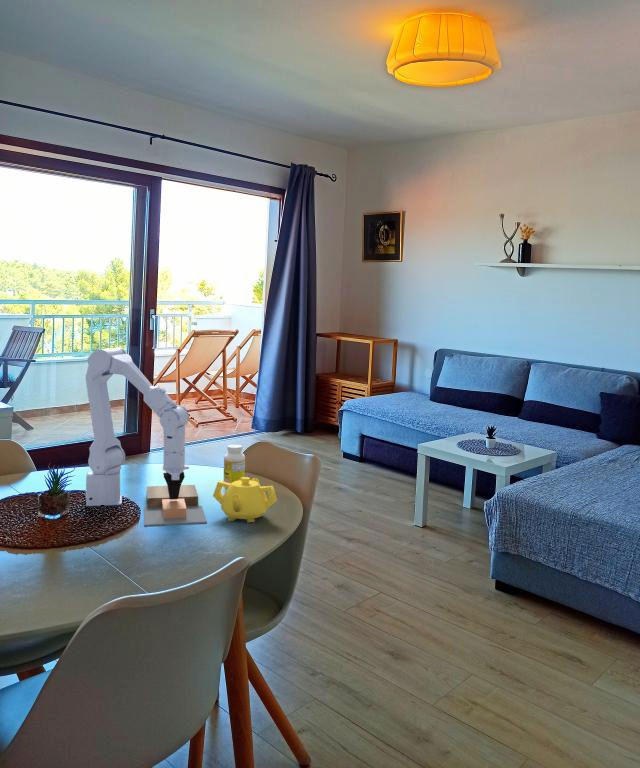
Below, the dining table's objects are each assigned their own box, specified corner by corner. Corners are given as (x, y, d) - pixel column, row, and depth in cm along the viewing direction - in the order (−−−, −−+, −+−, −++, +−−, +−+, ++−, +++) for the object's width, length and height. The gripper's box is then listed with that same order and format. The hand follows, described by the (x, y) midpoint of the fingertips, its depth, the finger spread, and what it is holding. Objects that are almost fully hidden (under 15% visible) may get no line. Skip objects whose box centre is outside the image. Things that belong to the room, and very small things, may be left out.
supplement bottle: (221, 483, 221) (222, 443, 220) (242, 482, 223) (243, 443, 222) (225, 489, 215) (226, 448, 213) (246, 488, 217) (247, 448, 215)
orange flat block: (163, 518, 184) (163, 509, 184) (162, 508, 193) (162, 499, 193) (186, 517, 186) (186, 508, 186) (183, 507, 194) (184, 498, 194)
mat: (144, 526, 179) (144, 524, 179) (143, 509, 192) (143, 508, 192) (206, 523, 183) (206, 521, 183) (201, 507, 197) (201, 505, 197)
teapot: (265, 533, 178) (267, 490, 176) (199, 525, 181) (200, 484, 180) (285, 509, 197) (286, 471, 196) (225, 503, 200) (226, 466, 199)
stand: (147, 508, 193) (147, 498, 193) (146, 496, 205) (146, 486, 204) (198, 506, 197) (198, 496, 196) (194, 494, 208) (194, 484, 208)
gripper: (191, 456, 184) (190, 506, 186) (187, 444, 198) (186, 490, 200) (163, 457, 182) (163, 507, 184) (161, 445, 196) (161, 491, 198)
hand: (173, 498), depth 192 cm, fingers closed
